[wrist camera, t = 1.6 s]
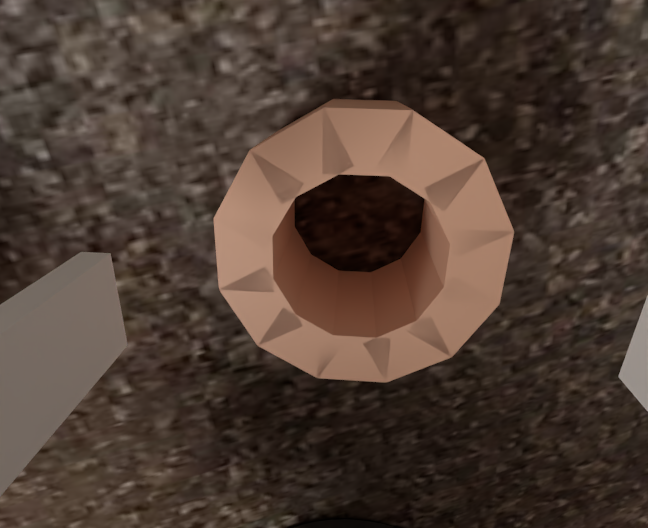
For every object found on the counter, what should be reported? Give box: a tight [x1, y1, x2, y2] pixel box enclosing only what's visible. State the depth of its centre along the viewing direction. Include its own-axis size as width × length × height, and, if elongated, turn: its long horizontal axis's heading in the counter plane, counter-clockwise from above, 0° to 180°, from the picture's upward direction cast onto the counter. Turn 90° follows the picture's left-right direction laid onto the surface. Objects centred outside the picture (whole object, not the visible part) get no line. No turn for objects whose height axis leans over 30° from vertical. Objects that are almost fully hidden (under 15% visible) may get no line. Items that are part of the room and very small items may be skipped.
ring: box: [214, 99, 514, 383], centre depth 18 cm, size 10×10×6 cm
